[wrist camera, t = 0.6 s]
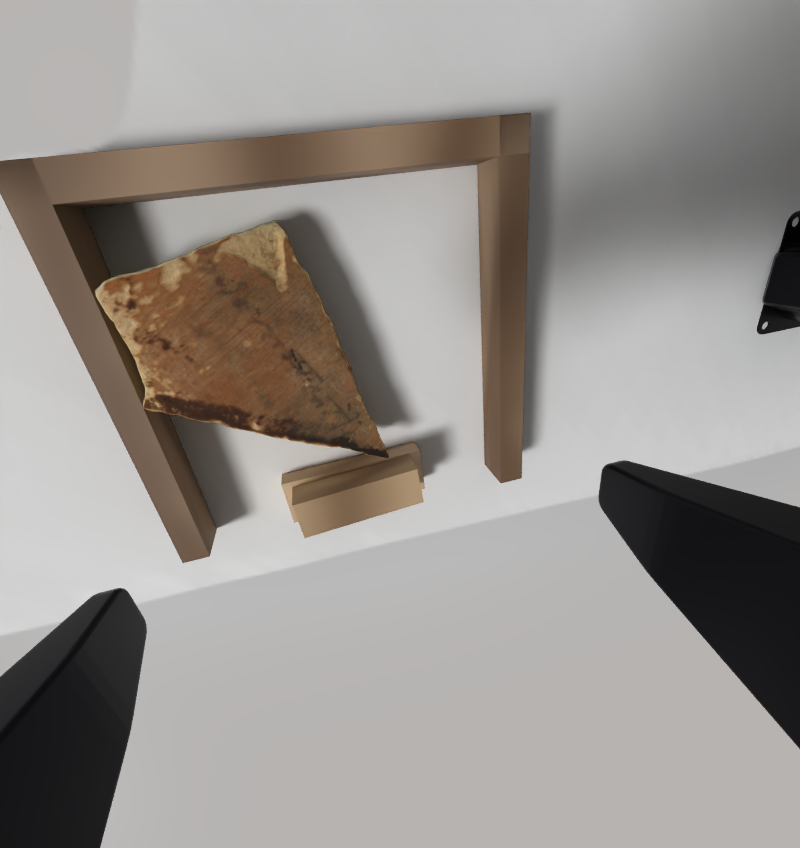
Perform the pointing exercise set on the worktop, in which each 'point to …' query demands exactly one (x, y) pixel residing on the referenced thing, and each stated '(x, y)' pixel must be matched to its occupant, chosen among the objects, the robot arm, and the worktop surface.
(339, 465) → the lower oak offcut
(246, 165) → the walnut open-sided frame
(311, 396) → the shard
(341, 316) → the worktop surface
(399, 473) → the upper oak offcut
